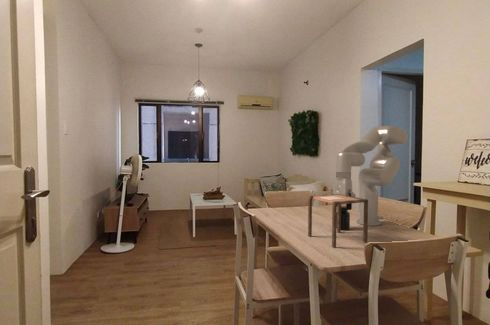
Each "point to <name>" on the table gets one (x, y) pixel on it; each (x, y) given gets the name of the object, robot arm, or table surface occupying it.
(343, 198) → the trapdoor
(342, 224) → the supplement bottle
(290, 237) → the table surface
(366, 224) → the stand
